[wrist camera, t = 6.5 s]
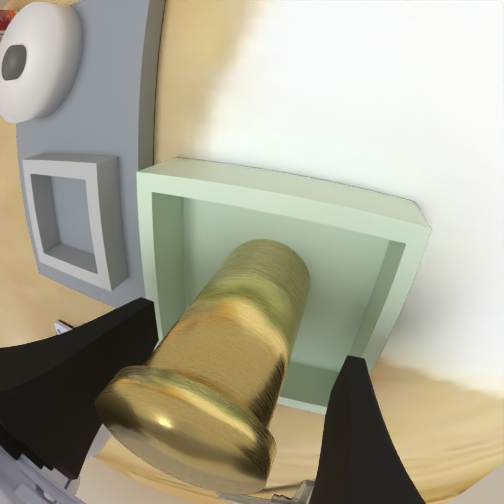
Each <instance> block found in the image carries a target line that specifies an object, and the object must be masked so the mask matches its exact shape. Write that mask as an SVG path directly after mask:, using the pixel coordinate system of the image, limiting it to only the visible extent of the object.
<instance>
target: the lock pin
mask: <svg viewBox="0 0 504 504" xmlns="http://www.w3.org/2000/svg"><path fill="white" fill-rule="evenodd" d="M309 290H310V275H309V271H308V268H307V266H306V264H305V263H304V261H303V260H302V258H301V257H300V256H299V255H298V254H297V253H296V252H295V251H294V250H292V249H291V248H290V247H288V246H286V245H284V244H282V243H280V242H277V241H274V240H269V239H254V240H250V241H247V242H244V243H242V244H241V245H239V246H238V247H237V248H235V249H234V250H233V252H232V253H231V254H230V255H229V256H228V258H227V259H226V260H225V261H224V263H223V264H222V265H221V266H220V268H219V269H218V270H217V271H216V273H215V274H214V275H213V276H212V278H211V279H210V280H209V281H208V283H207V284H206V285H205V286H204V288H203V289H202V290H201V291H200V293H199V294H198V295H197V296H196V298H195V299H194V300H193V301H192V303H191V304H190V305H189V306H188V308H187V309H186V310H185V312H184V313H183V314H182V315H181V317H180V318H179V319H178V320H177V322H176V323H175V324H174V325H173V327H172V328H171V329H170V331H169V332H168V333H167V334H166V336H165V337H164V338H163V340H162V341H161V342H160V343H159V345H158V346H157V347H156V348H155V350H154V351H153V352H152V354H151V355H150V356H149V357H148V359H147V360H146V361H145V363H144V364H143V365H142V366H139V365H136V366H128V367H125V368H123V369H121V370H119V371H118V373H117V374H116V375H115V376H114V378H113V379H112V380H111V381H110V382H109V384H108V385H107V386H106V387H105V389H104V390H103V391H102V392H101V394H100V395H99V396H98V397H97V398H96V400H95V409H96V412H97V415H98V417H99V418H100V420H101V421H102V423H103V424H104V426H105V427H106V428H107V429H108V431H109V432H110V433H111V434H112V435H113V436H114V437H115V438H116V439H117V440H118V441H119V442H120V443H121V444H122V445H124V446H125V447H126V448H127V449H128V450H130V451H131V452H132V453H134V454H135V455H136V456H138V457H139V458H141V459H142V460H144V461H145V462H147V463H148V464H150V465H151V466H153V467H155V468H157V469H158V470H160V471H162V472H164V473H166V474H168V475H170V476H172V477H174V478H176V479H179V480H181V481H183V482H186V483H189V484H191V485H194V486H197V487H200V488H204V489H207V490H211V491H216V492H221V493H227V494H252V493H256V492H259V491H261V490H262V489H263V488H264V487H265V485H266V482H267V479H268V476H269V473H270V470H271V467H272V464H273V461H274V458H275V455H276V451H277V448H276V443H275V440H274V438H273V436H272V435H271V433H270V432H269V430H268V429H269V426H270V423H271V420H272V417H273V414H274V411H275V408H276V404H277V401H278V398H279V395H280V392H281V389H282V386H283V382H284V379H285V376H286V373H287V369H288V366H289V363H290V359H291V356H292V352H293V349H294V345H295V342H296V338H297V335H298V331H299V328H300V324H301V320H302V317H303V313H304V309H305V305H306V302H307V298H308V294H309Z"/></svg>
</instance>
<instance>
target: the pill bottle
mask: <svg viewBox="0 0 504 504" xmlns="http://www.w3.org/2000/svg"><path fill="white" fill-rule="evenodd" d="M17 13H18V11H15V10H0V42H1V40H2V37H3V35H4V33H5V31H6V29H7V27H8V25H9V24H10V22H11V21H12V19H13V18H14V17H15V15H16V14H17Z"/></svg>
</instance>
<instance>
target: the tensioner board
mask: <svg viewBox="0 0 504 504" xmlns="http://www.w3.org/2000/svg"><path fill="white" fill-rule="evenodd" d="M164 5H165V0H82V1H80V2H77V3H75V4H73V5H71V6H68V5H63V4H56V3H47V2H33V3H30V4H28V5H26V6H25V7H24V8H22V9H21V10H20V11H19V12H18V13H17V14H16V15H15V17H14V18H13V19H12V21H11V22H10V24H9V25H8V27H7V29H6V31H5V33H4V35H3V37H2V40H1V42H0V114H1V116H2V117H3V118H4V119H5V120H6V121H7V122H9V123H16V126H17V147H18V160H19V170H20V179H21V187H22V194H23V201H24V207H25V212H26V218H27V223H28V228H29V233H30V238H31V242H32V246H33V251H34V255H35V259H36V263H37V266H38V270H39V273H40V274H42V275H44V276H46V277H48V278H50V279H52V280H54V281H56V282H58V283H61V284H63V285H65V286H67V287H69V288H71V289H73V290H76V291H78V292H80V293H82V294H85V295H87V296H89V297H91V298H94V299H96V300H98V301H101V302H103V303H105V304H108V305H110V306H113V307H115V308H119V307H121V306H123V305H125V304H127V303H129V302H131V301H133V300H135V299H138V298H140V297H142V298H145V299H146V294H145V286H144V277H143V268H142V258H141V247H140V235H139V220H138V202H137V173H136V172H137V171H140V170H143V169H145V168H148V167H151V166H153V138H154V109H155V91H156V77H157V64H158V54H159V44H160V35H161V27H162V19H163V12H164Z"/></svg>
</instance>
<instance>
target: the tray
mask: <svg viewBox="0 0 504 504" xmlns="http://www.w3.org/2000/svg"><path fill="white" fill-rule="evenodd" d="M136 173H137V202H138V220H139V235H140V247H141V258H142V268H143V277H144V286H145V294H146V299H148V300H151V301H154V307H155V315H156V322H157V330H158V337H159V341H158V343H157V345H156V346H155V348H156V347H157V346H158V345H159V343H160V342H161V341H162V340H163V338H164V337H165V336H166V334H167V333H168V332H169V331H170V329H171V328H172V327H173V325H174V324H175V323H176V322H177V320H178V319H179V318H180V317H181V315H182V314H183V313H184V312H185V310H186V309H187V308H188V306H189V305H190V304H191V303H192V301H193V300H194V299H195V298H196V296H197V295H198V294H199V293H200V291H201V290H202V289H203V288H204V286H205V285H206V284H207V283H208V281H209V280H210V279H211V278H212V276H213V275H214V274H215V273H216V271H217V270H218V269H219V268H220V266H221V265H222V264H223V263H224V261H225V260H226V259H227V258H228V256H229V255H230V254H231V253H232V252H233V250H234V249H235V248H237V247H238V246H239V245H241V244H242V243H244V242H247V241H250V240H254V239H269V240H274V241H277V242H280V243H282V244H284V245H286V246H288V247H290V248H291V249H292V250H294V251H295V252H296V253H297V254H298V255H299V256H300V257H301V258H302V260H303V261H304V263H305V264H306V266H307V268H308V271H309V275H310V290H309V294H308V298H307V302H306V305H305V309H304V313H303V317H302V320H301V324H300V328H299V331H298V335H297V338H296V342H295V345H294V349H293V352H292V356H291V359H290V363H289V366H288V369H287V373H286V376H285V379H284V382H283V386H282V389H281V392H280V395H279V398H278V401H277V404H280V405H284V406H288V407H292V408H296V409H301V410H305V411H309V412H314V413H319V414H324V415H326V411H327V406H328V402H329V398H330V393H331V390H332V388H333V386H334V383H335V381H336V379H337V377H338V375H339V373H340V370H341V368H342V366H343V364H344V361H345V359H346V357H347V355H350V356H355V357H360V358H364V359H365V361H366V364H367V368H368V372H369V375H370V373H371V371H372V369H373V368H374V366H375V364H376V362H377V360H378V358H379V356H380V354H381V352H382V350H383V348H384V346H385V344H386V342H387V340H388V338H389V336H390V334H391V332H392V329H393V327H394V325H395V323H396V321H397V319H398V316H399V314H400V312H401V310H402V307H403V305H404V303H405V300H406V298H407V295H408V293H409V291H410V288H411V286H412V283H413V281H414V278H415V275H416V273H417V270H418V267H419V265H420V262H421V259H422V256H423V254H424V251H425V248H426V245H427V242H428V239H429V236H430V233H431V230H432V228H431V227H430V225H429V223H428V222H427V220H426V219H425V217H424V216H423V214H422V213H421V211H420V210H419V208H418V207H417V205H416V204H415V202H414V201H410V200H406V199H403V198H399V197H395V196H391V195H387V194H383V193H379V192H375V191H371V190H367V189H362V188H358V187H354V186H349V185H344V184H340V183H335V182H330V181H326V180H321V179H316V178H311V177H305V176H300V175H295V174H289V173H284V172H278V171H272V170H266V169H260V168H253V167H247V166H240V165H233V164H226V163H219V162H211V161H203V160H194V159H185V158H174V159H171V160H168V161H165V162H162V163H159V164H156V165H154V166H151V167H148V168H145V169H143V170H140V171H137V172H136ZM155 348H154V350H155Z"/></svg>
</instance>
